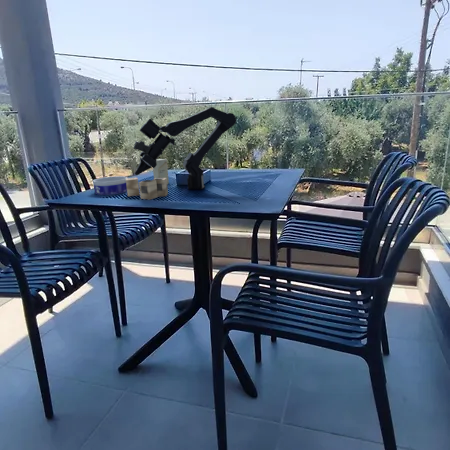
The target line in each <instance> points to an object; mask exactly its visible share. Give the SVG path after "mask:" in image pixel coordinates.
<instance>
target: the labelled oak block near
mask: <svg viewBox="0 0 450 450" xmlns="http://www.w3.org/2000/svg"><path fill="white" fill-rule="evenodd" d="M138 184H139V193H140V195H139V197H140V199H141V200H149V201H150V200H153V199H156V198H158V197H159V196H158V193H157V183H156V180H153V179H145V180H142V181H138Z"/></svg>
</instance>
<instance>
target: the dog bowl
mask: <svg viewBox="0 0 450 450" xmlns="http://www.w3.org/2000/svg"><path fill="white" fill-rule="evenodd" d="M126 178H128V177H127V176H122V175H121V176H120V175H119V176H118V175H115V176H105V177H100V178H95V179H93V180H92V183H93V189H94V194H95V195H100V196H107V195H109V196H110V195H117V194H122V193H123V194H124V193H127V185H126Z"/></svg>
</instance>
